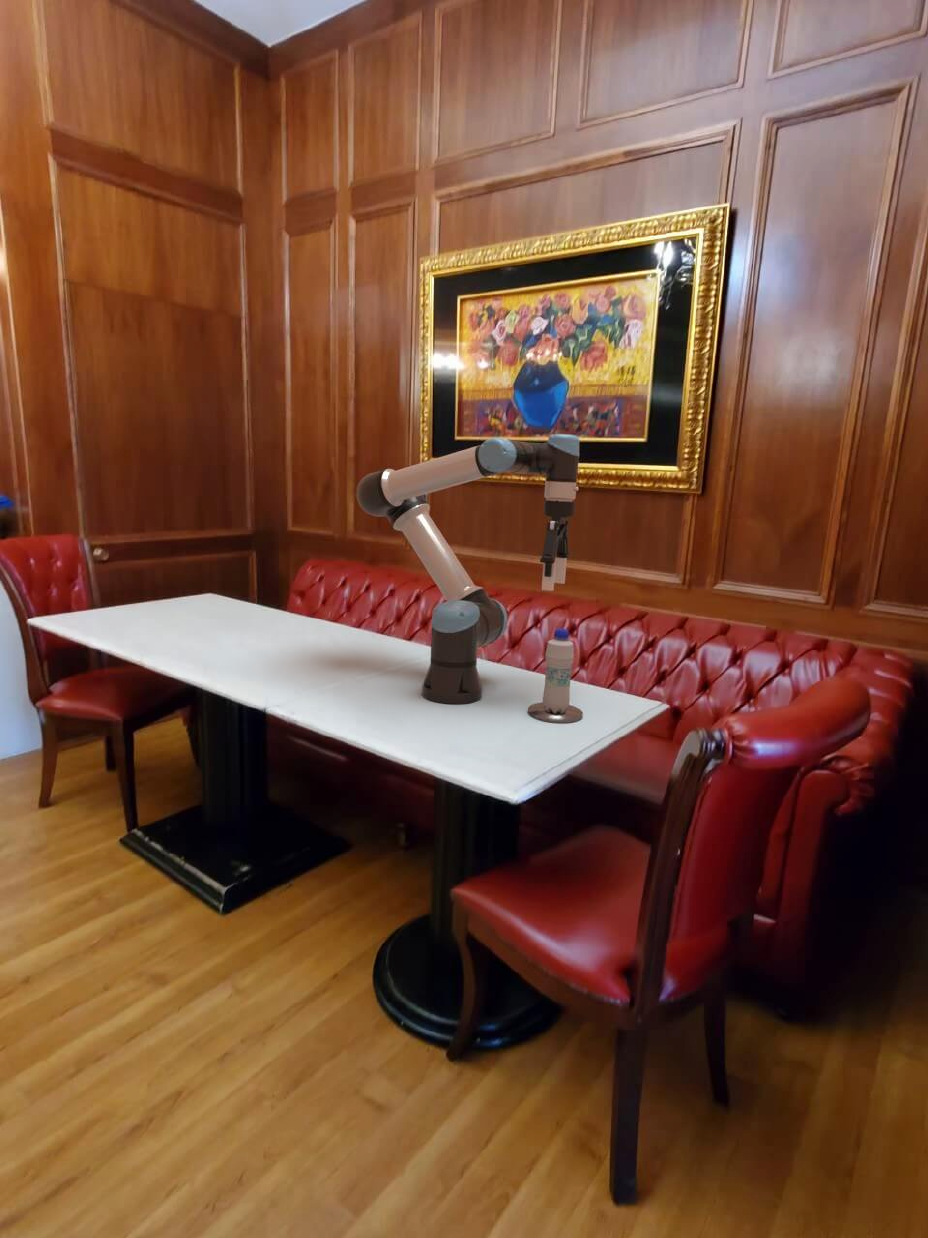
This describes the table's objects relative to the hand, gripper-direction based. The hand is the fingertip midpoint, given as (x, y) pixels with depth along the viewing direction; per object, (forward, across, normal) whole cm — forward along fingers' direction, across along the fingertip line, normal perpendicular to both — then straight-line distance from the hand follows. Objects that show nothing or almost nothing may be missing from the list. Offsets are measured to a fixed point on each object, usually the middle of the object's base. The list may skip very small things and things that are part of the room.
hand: (553, 586), depth 174 cm
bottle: (+28, -12, -5) cm, 31 cm away
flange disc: (+29, -12, -5) cm, 32 cm away
